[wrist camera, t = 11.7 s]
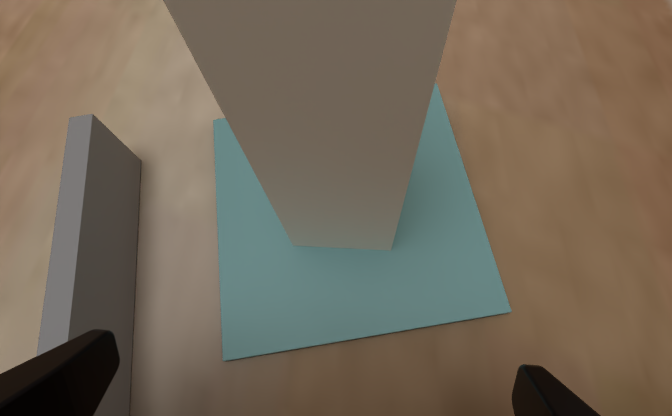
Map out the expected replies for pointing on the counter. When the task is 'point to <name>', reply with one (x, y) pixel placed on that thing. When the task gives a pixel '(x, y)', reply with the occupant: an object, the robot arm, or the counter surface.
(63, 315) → the long gray bar
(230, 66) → the tall cream pillar
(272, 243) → the mat
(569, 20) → the counter surface
